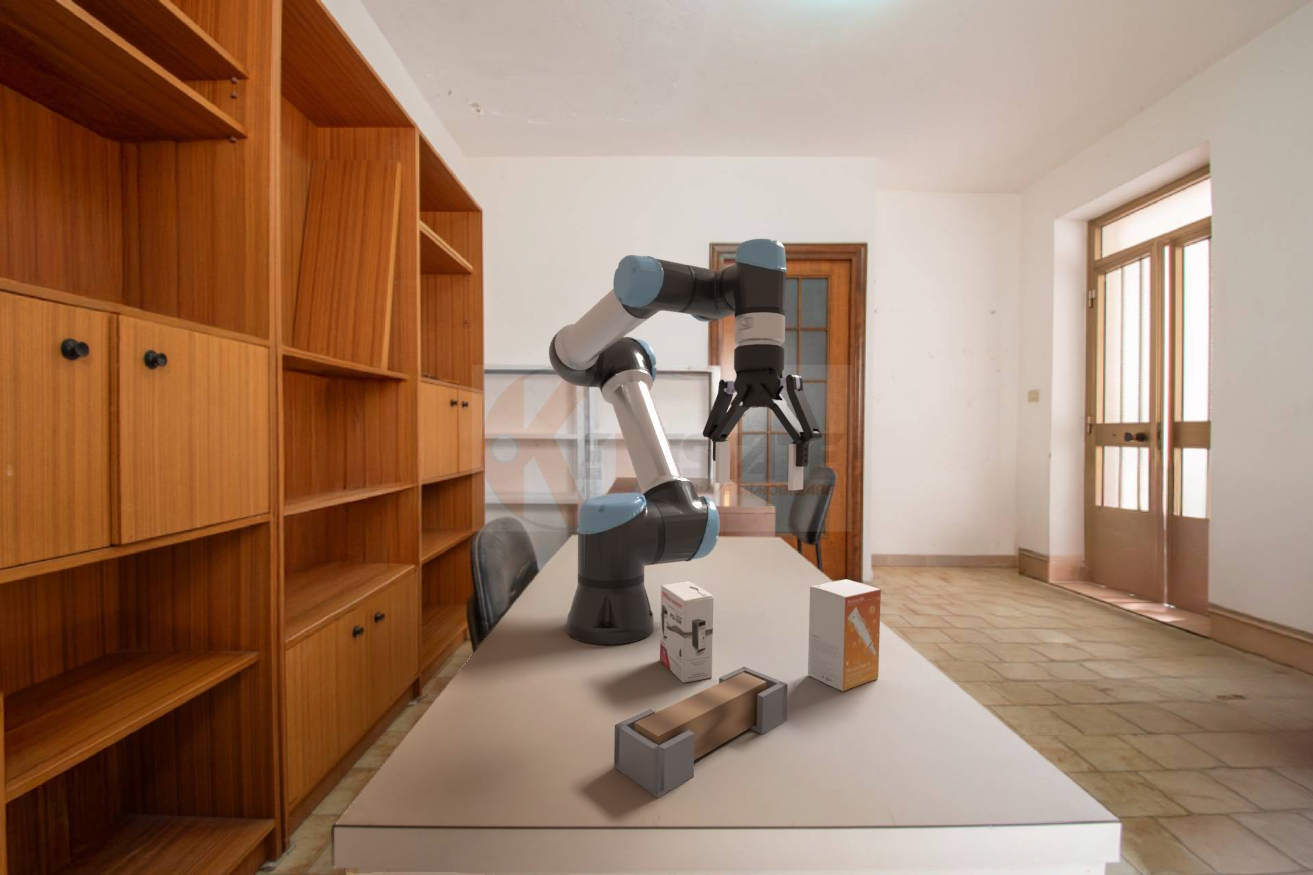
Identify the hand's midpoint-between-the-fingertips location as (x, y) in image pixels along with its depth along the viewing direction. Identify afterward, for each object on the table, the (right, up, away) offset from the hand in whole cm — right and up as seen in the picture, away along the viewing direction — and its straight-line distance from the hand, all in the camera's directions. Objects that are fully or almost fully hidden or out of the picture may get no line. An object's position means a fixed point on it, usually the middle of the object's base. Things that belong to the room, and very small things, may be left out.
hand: (756, 486), depth 85 cm
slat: (-10, -27, -23) cm, 36 cm away
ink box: (-11, -27, -3) cm, 29 cm away
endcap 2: (-3, -27, -16) cm, 32 cm away
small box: (+11, -27, -5) cm, 30 cm away
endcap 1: (-16, -27, -28) cm, 42 cm away
